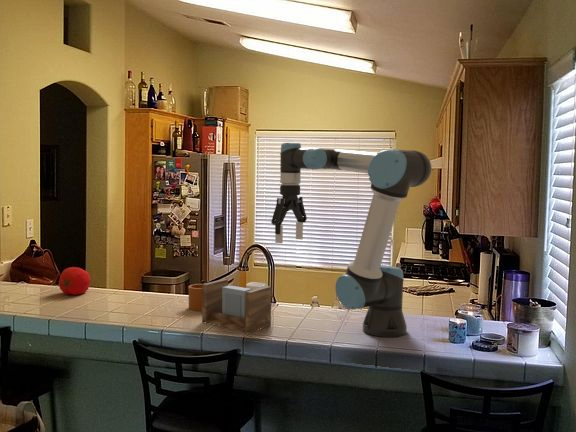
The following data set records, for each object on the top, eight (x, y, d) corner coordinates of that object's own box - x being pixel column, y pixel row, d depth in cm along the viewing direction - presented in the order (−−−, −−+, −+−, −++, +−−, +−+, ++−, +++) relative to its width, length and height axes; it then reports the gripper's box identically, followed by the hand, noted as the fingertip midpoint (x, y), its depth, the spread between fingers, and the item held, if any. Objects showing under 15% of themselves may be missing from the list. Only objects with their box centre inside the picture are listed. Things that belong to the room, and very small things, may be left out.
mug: (213, 312, 227) (213, 289, 226) (184, 310, 230) (184, 287, 229) (222, 306, 235) (221, 284, 234) (194, 304, 238) (193, 283, 237)
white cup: (263, 312, 228) (263, 286, 227) (243, 310, 230) (244, 285, 229) (268, 307, 236) (268, 282, 235) (249, 306, 237) (249, 281, 237)
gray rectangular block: (251, 321, 211) (251, 288, 210) (243, 324, 207) (244, 291, 206) (229, 317, 216) (229, 285, 215) (221, 319, 212) (221, 287, 211)
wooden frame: (270, 325, 210) (271, 286, 209) (250, 332, 201) (250, 292, 199) (223, 315, 223) (223, 278, 221) (202, 322, 213) (202, 284, 212)
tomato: (80, 297, 261) (61, 304, 249) (66, 272, 262) (46, 278, 249) (101, 283, 258) (82, 290, 245) (86, 258, 258) (67, 264, 246)
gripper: (300, 183, 231) (299, 236, 233) (262, 184, 210) (261, 243, 212) (316, 184, 227) (315, 238, 229) (279, 185, 206) (278, 245, 208)
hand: (289, 241), depth 220 cm, fingers open, 13 cm apart
